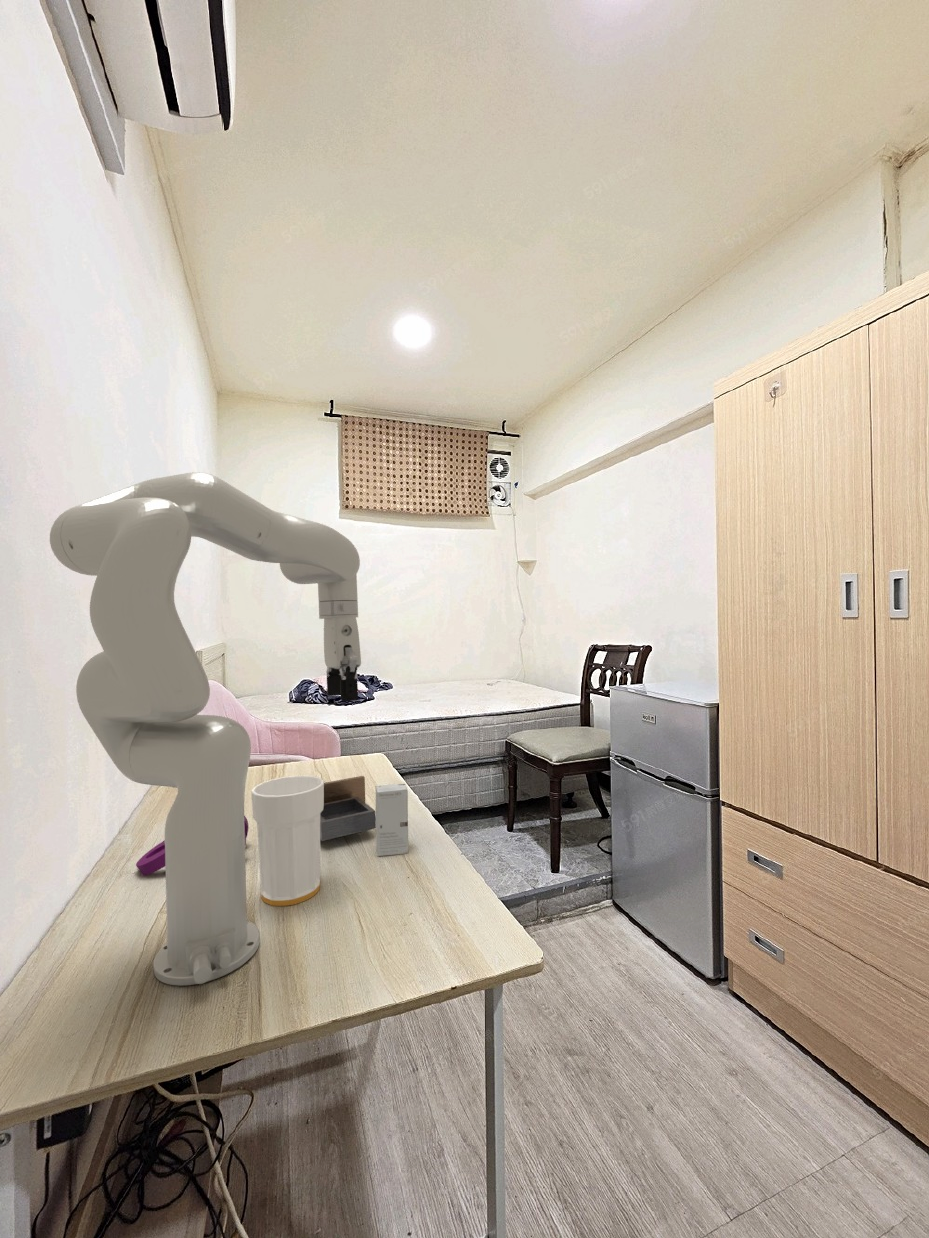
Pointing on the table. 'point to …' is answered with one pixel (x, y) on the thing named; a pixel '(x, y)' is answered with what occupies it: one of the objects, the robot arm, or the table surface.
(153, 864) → the mounting bracket
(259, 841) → the cup
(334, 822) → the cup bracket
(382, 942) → the table surface
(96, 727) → the robot arm
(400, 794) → the skincare box
